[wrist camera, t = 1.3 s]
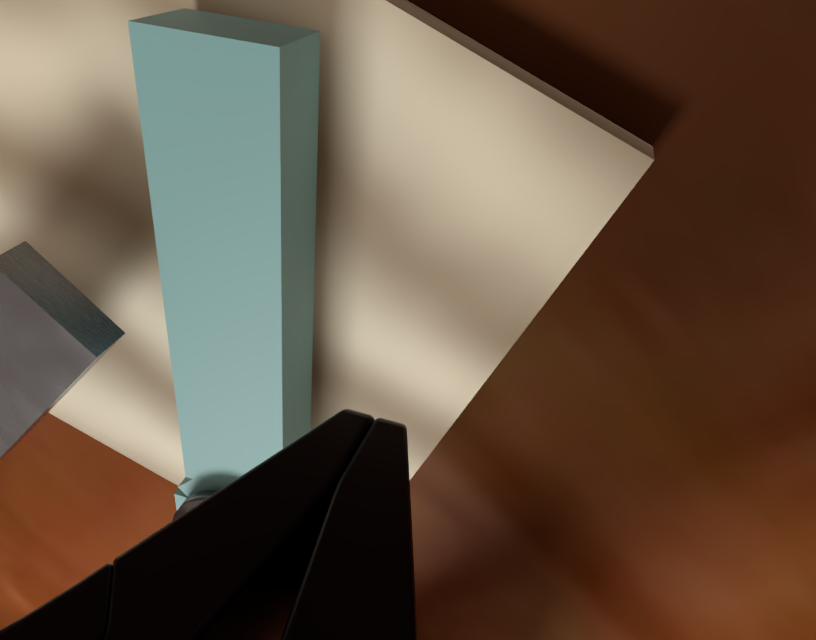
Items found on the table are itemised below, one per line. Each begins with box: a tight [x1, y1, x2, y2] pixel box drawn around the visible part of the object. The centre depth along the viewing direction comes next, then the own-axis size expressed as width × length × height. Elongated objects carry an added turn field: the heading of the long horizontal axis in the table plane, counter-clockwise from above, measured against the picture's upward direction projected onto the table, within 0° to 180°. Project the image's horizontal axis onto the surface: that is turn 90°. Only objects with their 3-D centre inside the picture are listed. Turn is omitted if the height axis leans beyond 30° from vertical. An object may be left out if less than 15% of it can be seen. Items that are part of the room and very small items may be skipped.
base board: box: [0, 0, 654, 486], centre depth 24 cm, size 23×24×1 cm
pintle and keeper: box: [0, 241, 218, 521], centre depth 25 cm, size 14×9×5 cm, turn 44°
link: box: [128, 8, 320, 510], centre depth 22 cm, size 21×5×2 cm, turn 174°
